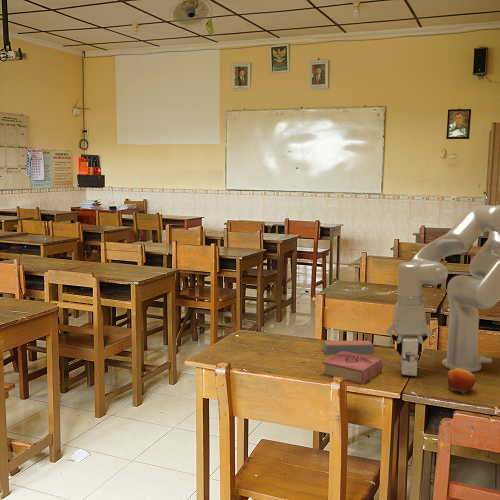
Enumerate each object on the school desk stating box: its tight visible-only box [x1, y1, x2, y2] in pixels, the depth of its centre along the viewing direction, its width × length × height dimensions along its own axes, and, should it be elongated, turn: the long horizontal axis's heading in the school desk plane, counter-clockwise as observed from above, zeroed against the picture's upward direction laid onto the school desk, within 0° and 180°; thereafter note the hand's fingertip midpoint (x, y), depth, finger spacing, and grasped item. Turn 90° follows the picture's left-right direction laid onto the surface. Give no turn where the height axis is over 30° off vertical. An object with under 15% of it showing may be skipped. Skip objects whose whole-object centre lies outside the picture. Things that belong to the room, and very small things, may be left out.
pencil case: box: [322, 340, 375, 355], centre depth 202 cm, size 18×6×3 cm, turn 93°
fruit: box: [446, 368, 477, 396], centre depth 163 cm, size 8×8×8 cm
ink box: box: [399, 335, 418, 376], centre depth 178 cm, size 9×5×12 cm, turn 169°
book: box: [321, 351, 384, 385], centre depth 178 cm, size 14×15×5 cm
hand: (409, 353), depth 178 cm, fingers closed on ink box, 5 cm apart
